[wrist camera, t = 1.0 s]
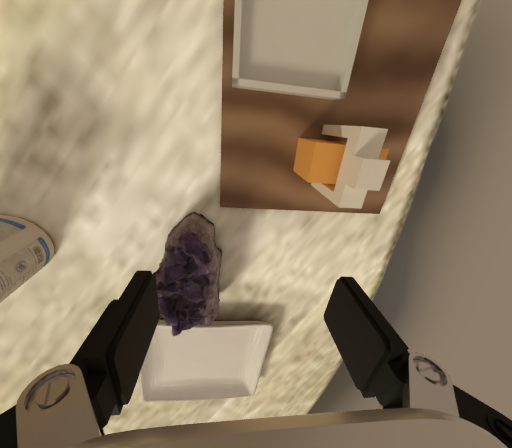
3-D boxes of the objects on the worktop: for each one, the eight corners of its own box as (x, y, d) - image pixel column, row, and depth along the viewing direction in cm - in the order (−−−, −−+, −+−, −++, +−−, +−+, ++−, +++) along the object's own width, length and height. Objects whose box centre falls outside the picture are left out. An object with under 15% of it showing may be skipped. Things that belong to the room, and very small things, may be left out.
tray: (236, -41, 20) (236, -57, 19) (363, -14, 22) (374, -26, 21) (231, 87, 25) (232, 84, 23) (337, 100, 27) (344, 99, 25)
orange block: (298, 137, 29) (315, 142, 23) (358, 143, 30) (389, 149, 24) (293, 170, 31) (307, 182, 25) (349, 174, 32) (376, 186, 26)
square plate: (253, 381, 57) (254, 398, 54) (147, 385, 52) (141, 404, 49) (272, 312, 46) (275, 327, 42) (138, 309, 41) (130, 326, 38)
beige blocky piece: (323, 124, 28) (373, 126, 18) (342, 126, 28) (401, 129, 19) (310, 185, 32) (346, 213, 22) (327, 186, 32) (370, 215, 22)
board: (224, -46, 21) (224, -54, 20) (453, 2, 25) (462, -2, 24) (220, 204, 33) (220, 207, 32) (375, 211, 36) (379, 213, 36)
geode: (149, 207, 32) (131, 238, 23) (224, 210, 35) (233, 238, 26) (156, 306, 40) (145, 357, 31) (217, 301, 43) (222, 346, 34)
